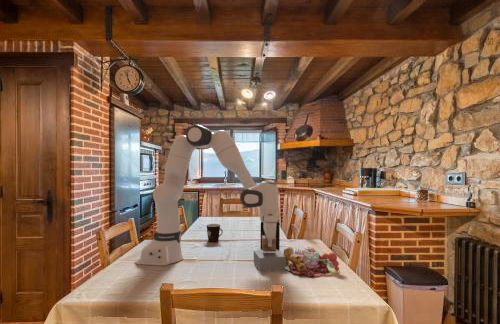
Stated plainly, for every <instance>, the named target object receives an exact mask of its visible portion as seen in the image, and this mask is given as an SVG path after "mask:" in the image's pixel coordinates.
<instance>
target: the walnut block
mask: <svg viewBox="0 0 500 324" xmlns="http://www.w3.org/2000/svg"><path fill="white" fill-rule="evenodd" d="M262 249H263V252H276V238H275V239H272V246H271V247H268V239H267V237H266V235H265V236H262Z"/></svg>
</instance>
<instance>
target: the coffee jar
mask: <svg viewBox="0 0 500 324" xmlns="http://www.w3.org/2000/svg"><path fill="white" fill-rule="evenodd" d="M280 220H281V219H280V218H279V217H278V222H276V223H277V224H276V236H275V238H276V249H277V250H278V251H280V245H281V244H280V241H281V240H280V239H281V238H280V232H281V231H280V226H281V225H280V224H281V223H280ZM262 221H263V220H262V219H260V250H263V249H262V236H265V235H266V234H265V232H264V227H263V226H264V223H263V222H262Z"/></svg>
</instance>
